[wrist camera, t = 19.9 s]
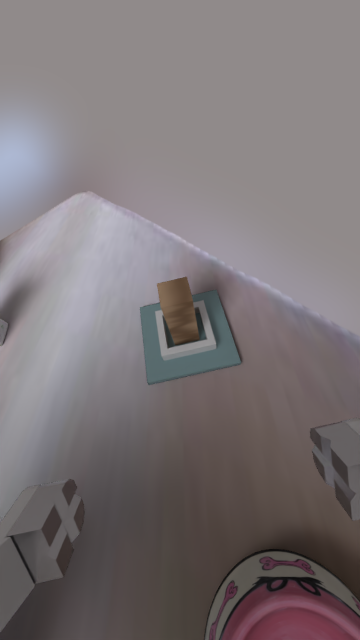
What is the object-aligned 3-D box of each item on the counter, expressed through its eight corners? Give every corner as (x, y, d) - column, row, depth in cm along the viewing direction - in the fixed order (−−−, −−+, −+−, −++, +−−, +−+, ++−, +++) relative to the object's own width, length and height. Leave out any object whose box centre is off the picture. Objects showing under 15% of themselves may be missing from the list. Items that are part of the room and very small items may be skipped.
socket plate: (149, 384, 40) (144, 379, 37) (141, 310, 49) (136, 301, 46) (240, 364, 40) (241, 357, 37) (216, 292, 48) (216, 283, 46)
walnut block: (175, 345, 42) (160, 307, 32) (171, 324, 45) (156, 283, 34) (199, 339, 42) (192, 300, 32) (194, 319, 44) (186, 276, 34)
